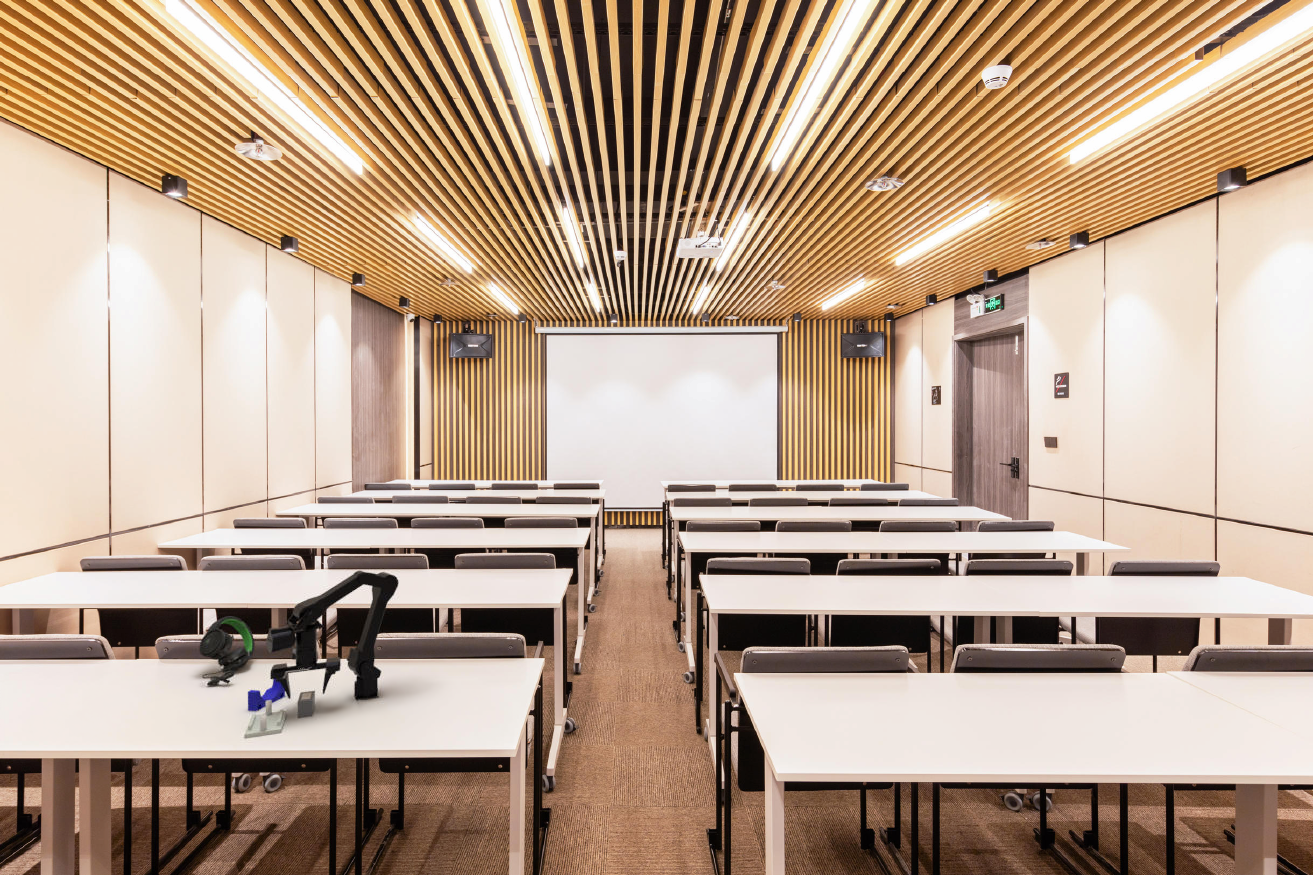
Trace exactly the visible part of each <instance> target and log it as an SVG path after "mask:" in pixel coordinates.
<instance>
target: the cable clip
mask: <svg viewBox="0 0 1313 875" xmlns="http://www.w3.org/2000/svg"><path fill="white" fill-rule="evenodd" d="M261 694H262V693H261V690H256V689H250V690H249V691H247V711H249V712H258V711H261V710H262V709H264V708H266V701H267V700H272V704H273V703H275V702H277V701H279V700H281V699H283V698H285V697H286V692H285V690H284V688H283V686H282V685H281V683H280V682H279V681H278V682H276V679H272V686H271V687H269V688H267V689H266V690H265V692H264V694H262V695H261Z"/></svg>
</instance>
